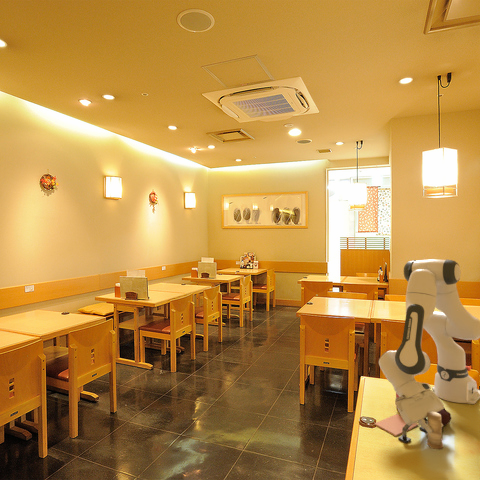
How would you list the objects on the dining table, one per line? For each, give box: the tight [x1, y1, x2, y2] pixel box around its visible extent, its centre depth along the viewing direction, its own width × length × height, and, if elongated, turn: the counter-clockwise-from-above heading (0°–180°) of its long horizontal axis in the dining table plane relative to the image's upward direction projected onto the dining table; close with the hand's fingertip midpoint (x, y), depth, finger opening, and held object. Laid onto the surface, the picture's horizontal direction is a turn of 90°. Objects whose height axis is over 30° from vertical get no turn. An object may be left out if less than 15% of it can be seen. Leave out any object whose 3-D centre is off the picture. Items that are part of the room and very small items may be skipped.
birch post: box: [426, 411, 444, 450], centre depth 122 cm, size 5×5×11 cm
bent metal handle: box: [397, 417, 428, 444], centre depth 129 cm, size 16×3×7 cm, turn 120°
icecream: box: [437, 407, 452, 430], centre depth 136 cm, size 7×7×15 cm
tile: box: [374, 413, 420, 437], centre depth 136 cm, size 14×10×1 cm
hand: (436, 430), depth 122 cm, fingers open, 5 cm apart
